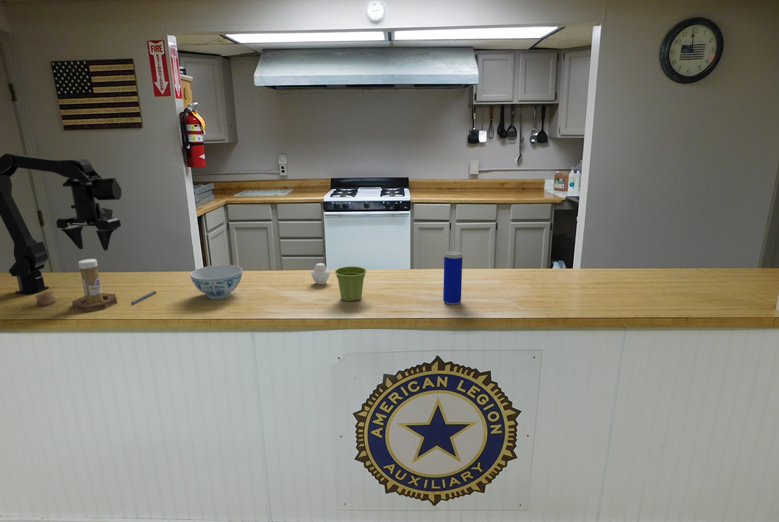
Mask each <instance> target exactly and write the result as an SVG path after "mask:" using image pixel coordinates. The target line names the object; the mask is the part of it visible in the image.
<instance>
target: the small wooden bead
mask: <svg viewBox="0 0 779 522" xmlns="http://www.w3.org/2000/svg"><path fill="white" fill-rule="evenodd" d="M35 299H36V304H37V306H38V307H41V306H43V307H49V306H52V304H53V305H54V303H55V302H56V303H57V300H56V296H55V293H54V291H53V292H52V291H46V292H41V293H38V294H36V295H35ZM56 303H55V304H56ZM48 305H49V306H48Z"/></svg>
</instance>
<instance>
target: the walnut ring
mask: <svg viewBox="0 0 779 522" xmlns="http://www.w3.org/2000/svg"><path fill="white" fill-rule="evenodd" d="M102 295H103V300H105V301H103V302H100V303H94V304H87V301H86V296H85V295H84V296H82V297H79V298H77V299H75V300H72V301H71V305H72V306H71V307H72V311H74V312H81V311H86V312H85V313H88V312H87V311H90V312H93V310H95V311H100V310H99V309H101V310H105V308H106V309H108V308H110V307H112V306H114V305H117V304H118V299H117V296H116V294H115V293H107V292H106V293H105V292H102ZM85 303H86V304H85ZM107 307H108V308H107Z"/></svg>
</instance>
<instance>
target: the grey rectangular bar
mask: <svg viewBox="0 0 779 522" xmlns="http://www.w3.org/2000/svg"><path fill="white" fill-rule="evenodd" d="M156 294H157V291H156V290H153V291H151V292H148V293H147V294H145V295H142V296H141V297H139V298H137V299H135V300H134V299H133V300H132V301H131V302H130V303H131V304H132V305H133V306H134V305H136V304H138V303H139V302H142V301H144V300H146V299H148V298H150V297H152V296H154V295H156ZM131 304H130V305H131Z"/></svg>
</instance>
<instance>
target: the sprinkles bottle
mask: <svg viewBox="0 0 779 522" xmlns="http://www.w3.org/2000/svg"><path fill="white" fill-rule="evenodd" d="M78 268H79V271H80V276H81V282H82V287H83V293H84V296H86V301H87V303H86V304H94V303H100V302H103V301H104V300H103V295H102V293H103V288H102V284H101V279H100V275H99V270H98V260H97V259H96V258H86V259H82V260H79V261H78Z"/></svg>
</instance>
